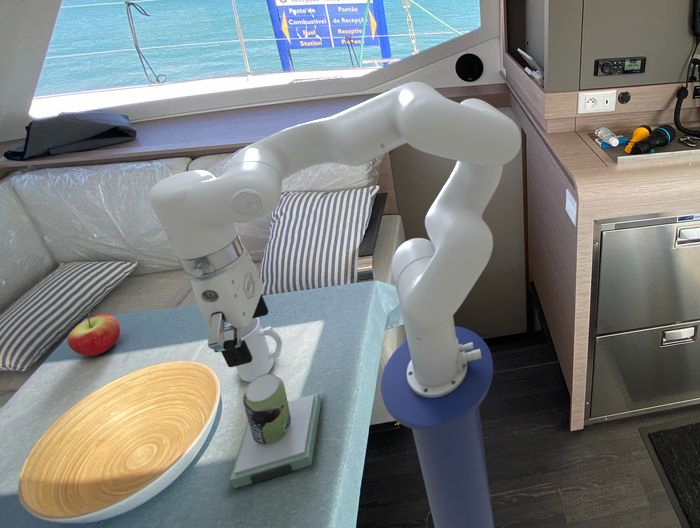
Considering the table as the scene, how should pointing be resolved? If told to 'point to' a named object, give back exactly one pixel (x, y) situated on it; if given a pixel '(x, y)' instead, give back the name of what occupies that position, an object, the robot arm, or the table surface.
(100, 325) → the apple
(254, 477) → the scale
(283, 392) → the beverage can
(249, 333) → the mug
